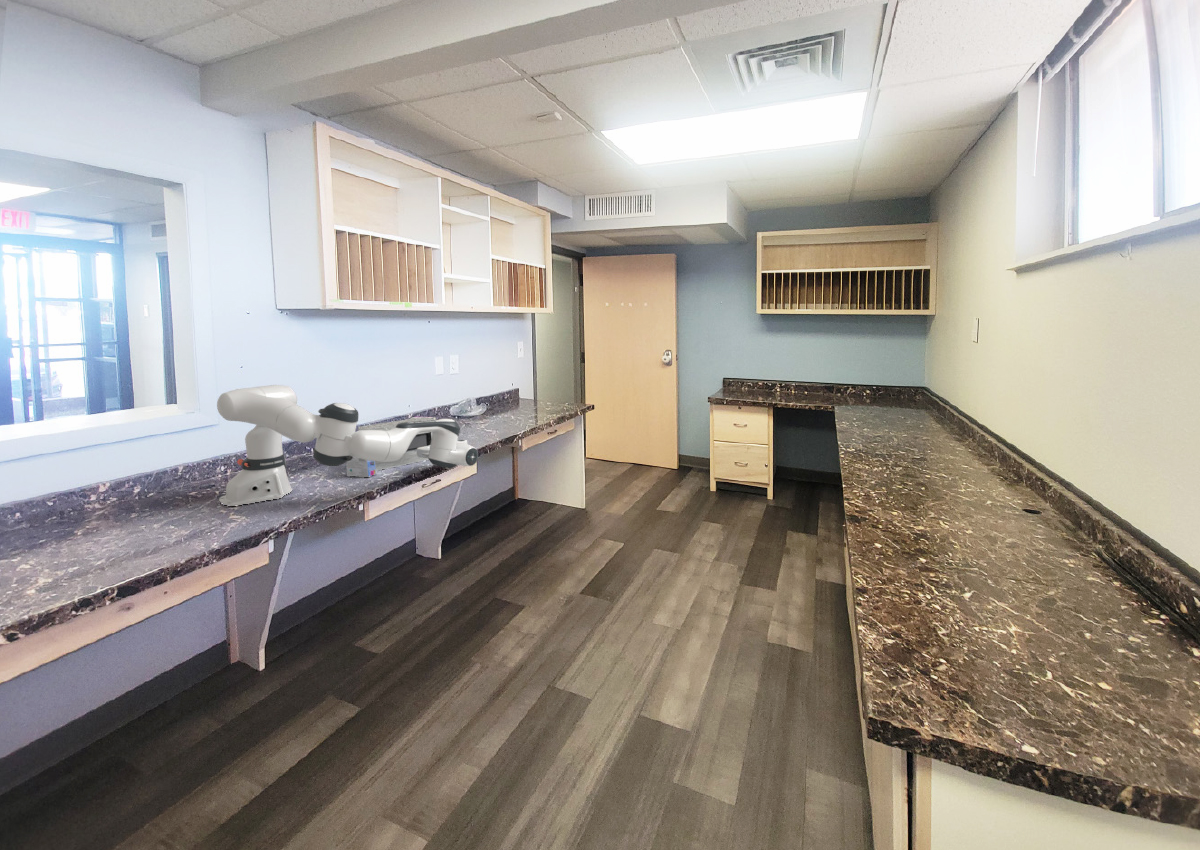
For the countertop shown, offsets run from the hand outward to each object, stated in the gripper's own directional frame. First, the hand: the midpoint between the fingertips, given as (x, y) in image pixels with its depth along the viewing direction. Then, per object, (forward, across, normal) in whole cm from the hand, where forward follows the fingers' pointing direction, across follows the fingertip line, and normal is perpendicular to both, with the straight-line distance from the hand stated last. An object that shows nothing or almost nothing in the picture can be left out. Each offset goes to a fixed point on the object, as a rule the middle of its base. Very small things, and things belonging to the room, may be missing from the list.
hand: (431, 446), depth 240 cm
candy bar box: (+27, +12, -9) cm, 31 cm away
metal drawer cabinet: (+15, -7, -9) cm, 18 cm away
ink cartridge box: (+9, -27, -9) cm, 29 cm away
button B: (+14, -1, -2) cm, 14 cm away
